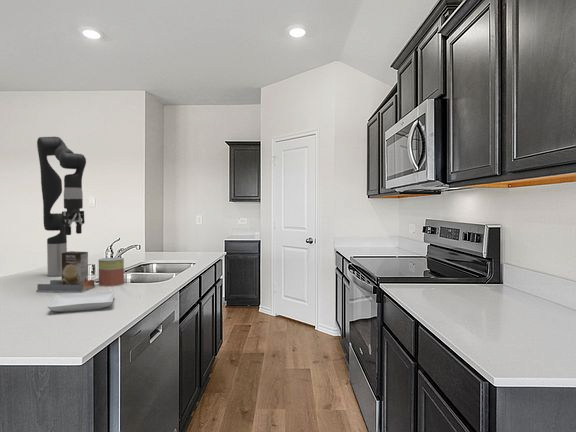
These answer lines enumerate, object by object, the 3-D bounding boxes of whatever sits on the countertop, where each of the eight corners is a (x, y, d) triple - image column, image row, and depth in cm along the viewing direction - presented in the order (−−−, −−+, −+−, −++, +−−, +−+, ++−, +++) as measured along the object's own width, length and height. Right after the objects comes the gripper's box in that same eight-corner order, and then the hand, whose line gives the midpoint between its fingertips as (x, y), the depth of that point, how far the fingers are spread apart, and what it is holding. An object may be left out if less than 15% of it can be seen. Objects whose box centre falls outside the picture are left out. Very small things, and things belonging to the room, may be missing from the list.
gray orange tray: (52, 286, 193) (52, 278, 193) (95, 287, 192) (94, 278, 192) (36, 292, 181) (36, 283, 181) (81, 292, 180) (81, 283, 180)
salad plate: (56, 302, 164) (56, 293, 164) (114, 298, 172) (114, 289, 171) (46, 316, 144) (46, 306, 144) (113, 310, 152) (113, 301, 152)
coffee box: (60, 288, 184) (60, 252, 183) (69, 286, 190) (69, 251, 190) (80, 289, 183) (80, 253, 183) (88, 286, 190) (88, 251, 189)
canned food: (128, 281, 205) (128, 257, 205) (116, 286, 194) (116, 260, 194) (106, 281, 206) (106, 257, 206) (93, 285, 195) (93, 260, 195)
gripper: (73, 198, 193) (74, 233, 193) (55, 197, 178) (56, 235, 179) (89, 198, 192) (90, 233, 193) (72, 197, 178) (73, 235, 179)
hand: (73, 234), depth 186 cm, fingers open, 8 cm apart
